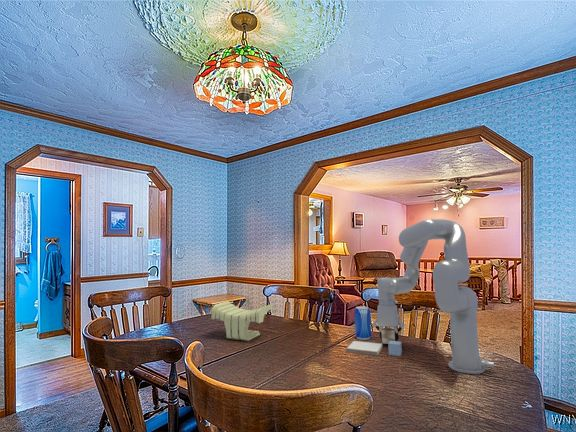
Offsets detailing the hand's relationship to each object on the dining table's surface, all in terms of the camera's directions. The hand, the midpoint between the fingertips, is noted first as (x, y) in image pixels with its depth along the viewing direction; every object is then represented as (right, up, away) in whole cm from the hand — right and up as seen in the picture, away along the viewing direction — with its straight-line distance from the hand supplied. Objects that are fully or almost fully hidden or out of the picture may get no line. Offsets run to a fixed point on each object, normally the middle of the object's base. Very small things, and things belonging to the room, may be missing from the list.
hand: (389, 340), depth 161 cm
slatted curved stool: (-75, -7, +21) cm, 78 cm away
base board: (-13, -2, -5) cm, 15 cm away
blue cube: (-1, -1, -13) cm, 13 cm away
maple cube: (0, -1, 0) cm, 1 cm away
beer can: (-10, -4, +13) cm, 17 cm away
